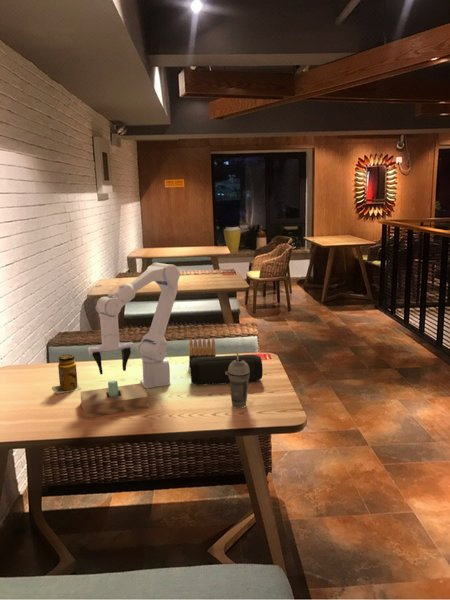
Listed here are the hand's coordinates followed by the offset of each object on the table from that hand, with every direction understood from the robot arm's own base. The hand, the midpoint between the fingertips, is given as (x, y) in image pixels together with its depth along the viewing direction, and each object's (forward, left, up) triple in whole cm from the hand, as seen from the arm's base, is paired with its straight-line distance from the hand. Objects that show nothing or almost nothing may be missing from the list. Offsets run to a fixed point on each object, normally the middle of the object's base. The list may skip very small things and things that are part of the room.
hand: (112, 371), depth 167 cm
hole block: (+1, +7, -9) cm, 11 cm away
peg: (+1, +6, -9) cm, 11 cm away
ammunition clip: (-37, -17, -10) cm, 42 cm away
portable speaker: (-40, +1, -10) cm, 41 cm away
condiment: (+15, -14, -10) cm, 23 cm away
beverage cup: (-37, +22, -10) cm, 44 cm away
